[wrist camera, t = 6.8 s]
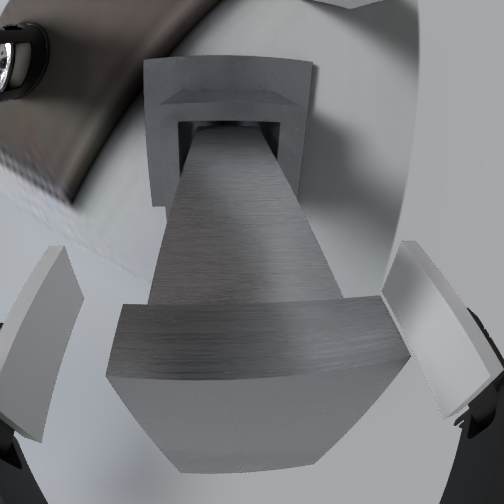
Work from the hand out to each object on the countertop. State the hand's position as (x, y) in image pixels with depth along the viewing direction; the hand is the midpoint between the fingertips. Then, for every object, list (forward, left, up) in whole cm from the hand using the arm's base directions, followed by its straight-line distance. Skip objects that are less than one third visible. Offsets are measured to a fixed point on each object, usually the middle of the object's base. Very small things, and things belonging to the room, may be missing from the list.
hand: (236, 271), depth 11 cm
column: (0, 0, -14) cm, 14 cm away
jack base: (0, 0, -22) cm, 22 cm away
